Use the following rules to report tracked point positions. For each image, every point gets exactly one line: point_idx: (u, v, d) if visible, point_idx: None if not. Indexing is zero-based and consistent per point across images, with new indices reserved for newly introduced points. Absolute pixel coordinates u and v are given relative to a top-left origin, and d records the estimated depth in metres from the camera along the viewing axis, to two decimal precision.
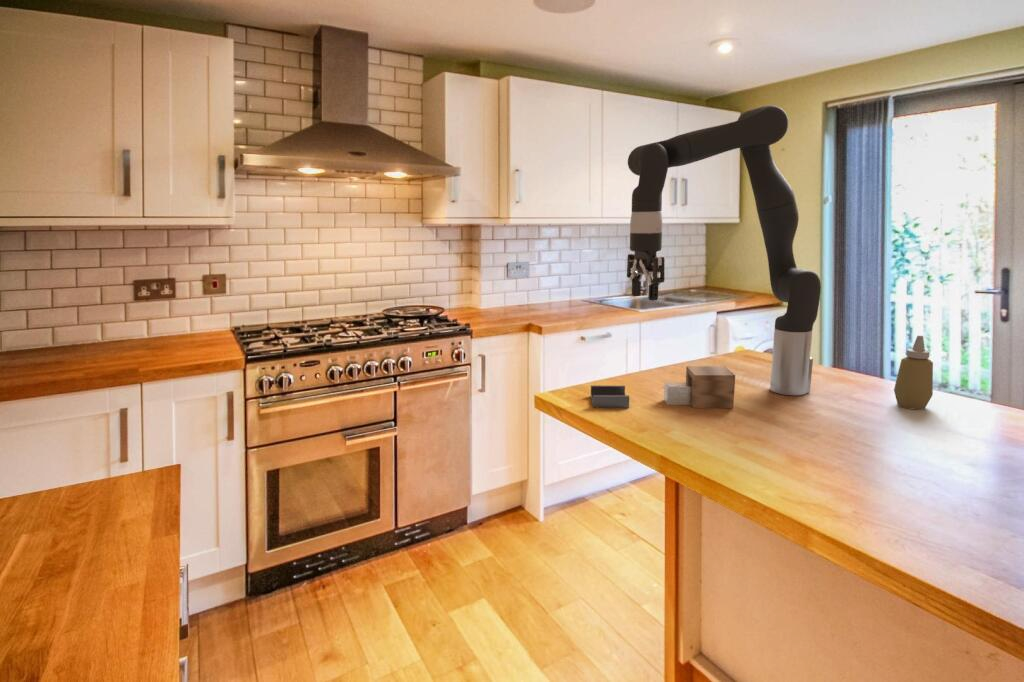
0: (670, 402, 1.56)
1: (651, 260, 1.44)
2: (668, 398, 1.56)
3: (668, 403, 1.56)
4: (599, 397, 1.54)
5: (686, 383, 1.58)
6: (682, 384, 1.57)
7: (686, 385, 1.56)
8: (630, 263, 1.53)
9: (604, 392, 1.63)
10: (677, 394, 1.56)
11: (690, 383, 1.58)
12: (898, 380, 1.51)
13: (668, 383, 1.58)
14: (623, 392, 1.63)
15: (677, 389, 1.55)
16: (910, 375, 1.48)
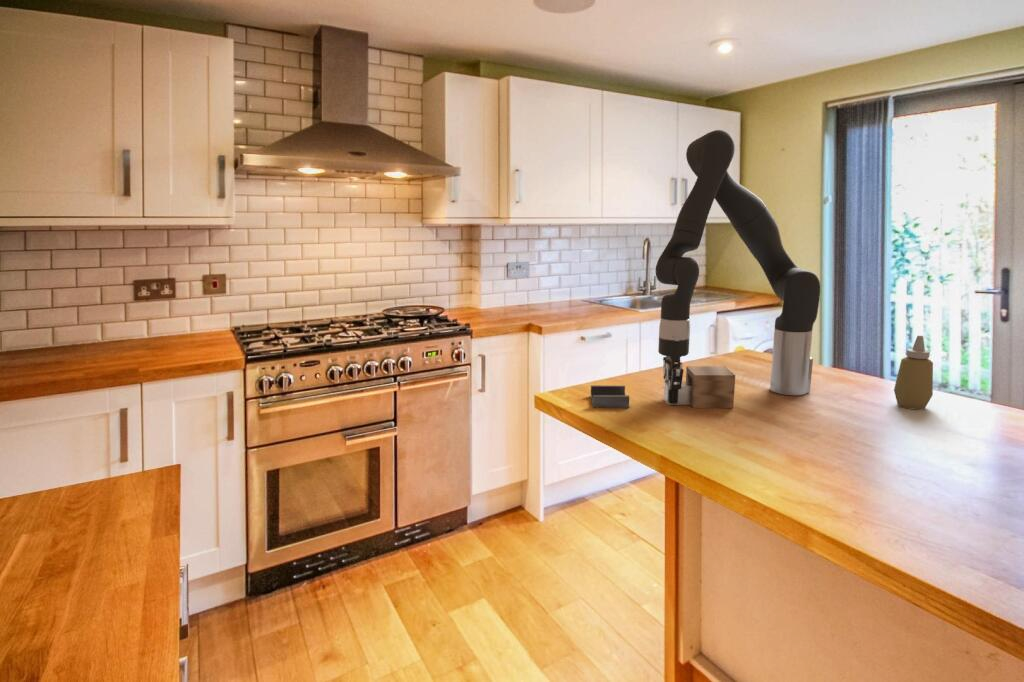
0: None
1: None
2: (668, 397, 1.56)
3: (668, 402, 1.56)
4: (599, 397, 1.54)
5: (686, 382, 1.58)
6: (682, 383, 1.57)
7: (686, 384, 1.56)
8: None
9: (604, 392, 1.63)
10: (678, 394, 1.56)
11: (690, 382, 1.58)
12: (898, 380, 1.51)
13: (668, 383, 1.58)
14: (623, 392, 1.63)
15: None
16: (910, 375, 1.48)
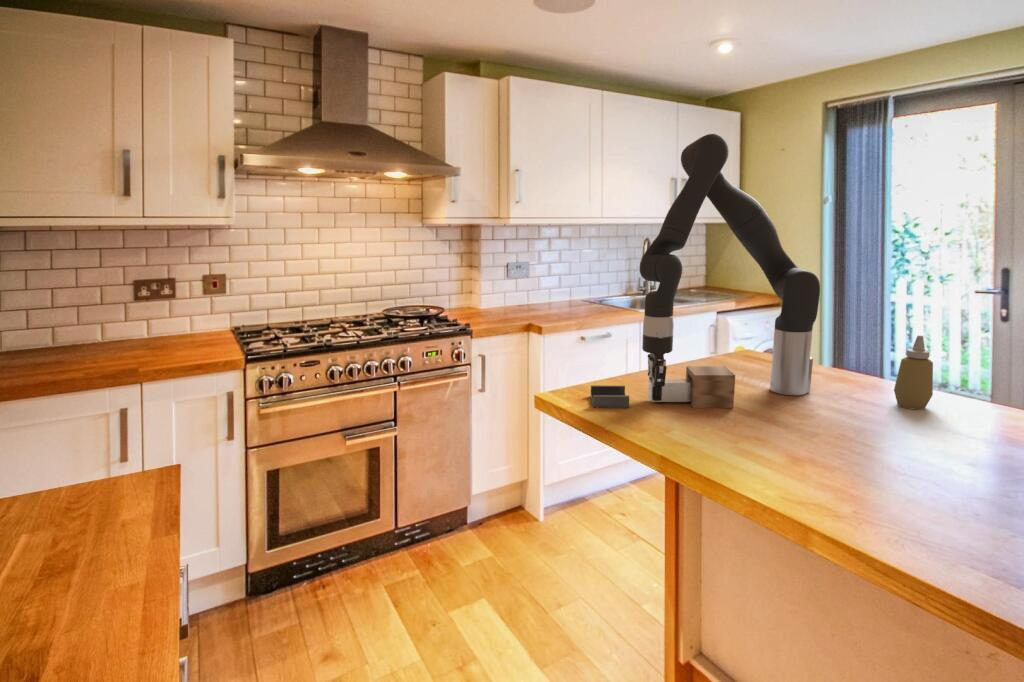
0: None
1: None
2: (652, 394, 1.56)
3: (652, 399, 1.56)
4: (599, 397, 1.54)
5: (670, 379, 1.58)
6: (666, 381, 1.57)
7: (670, 381, 1.56)
8: None
9: (604, 392, 1.63)
10: None
11: (674, 379, 1.58)
12: (898, 380, 1.51)
13: (652, 380, 1.58)
14: (623, 392, 1.63)
15: None
16: (910, 375, 1.48)
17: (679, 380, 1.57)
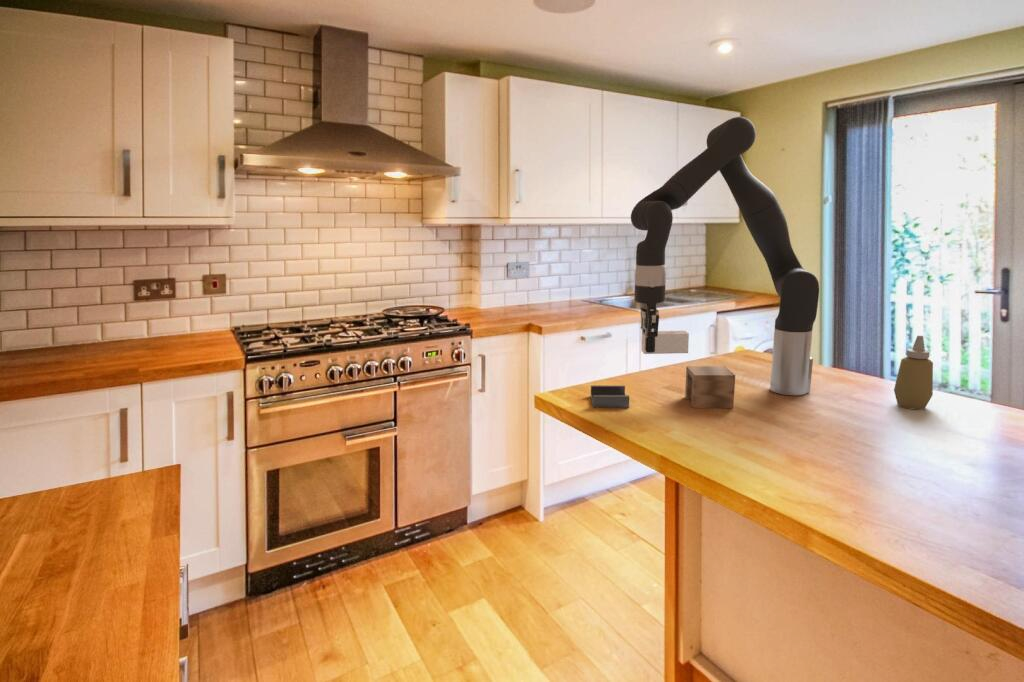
0: None
1: None
2: (645, 346, 1.53)
3: (645, 352, 1.53)
4: (599, 397, 1.54)
5: (663, 331, 1.55)
6: (659, 332, 1.54)
7: (663, 333, 1.53)
8: None
9: (604, 392, 1.63)
10: None
11: (667, 331, 1.55)
12: (898, 380, 1.51)
13: (645, 332, 1.55)
14: (623, 392, 1.63)
15: None
16: (910, 375, 1.48)
17: (672, 332, 1.55)
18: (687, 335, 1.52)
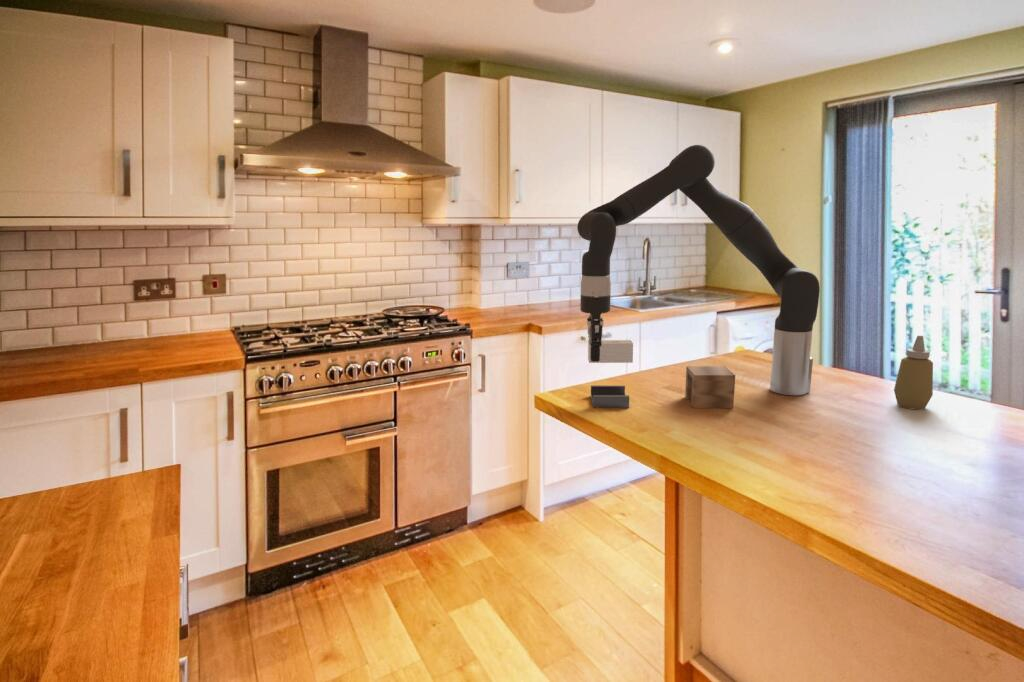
0: None
1: None
2: (590, 355, 1.55)
3: (590, 360, 1.55)
4: (599, 397, 1.54)
5: (609, 340, 1.57)
6: (605, 342, 1.56)
7: (608, 342, 1.55)
8: None
9: (604, 392, 1.63)
10: None
11: (613, 341, 1.57)
12: (898, 380, 1.51)
13: None
14: (623, 392, 1.63)
15: None
16: (910, 375, 1.48)
17: (618, 341, 1.56)
18: (631, 345, 1.54)
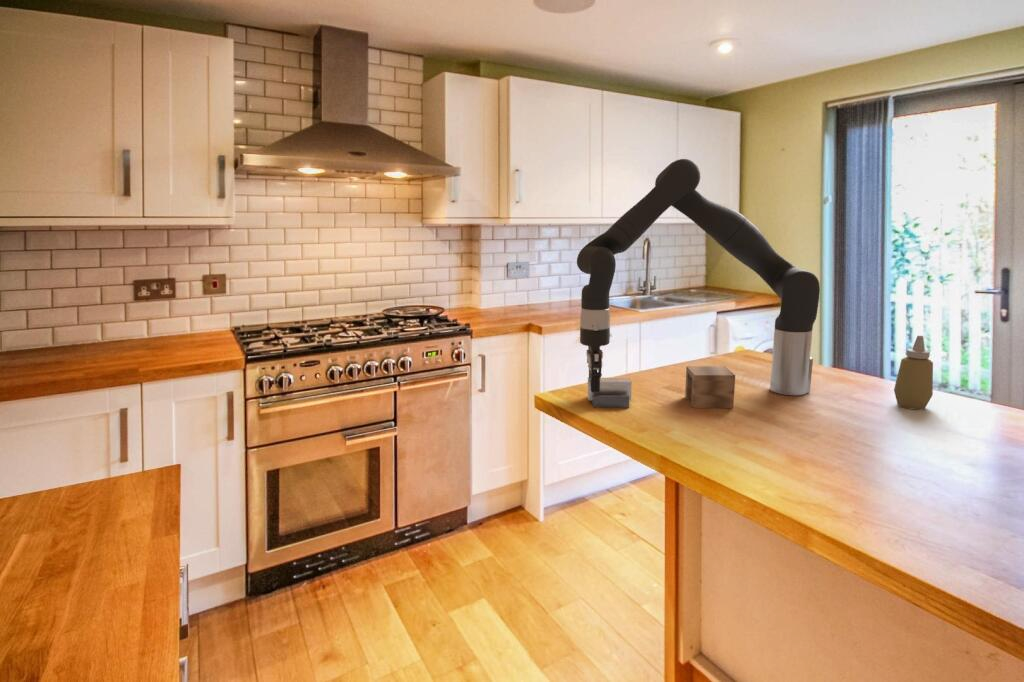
0: (591, 397, 1.57)
1: None
2: (589, 393, 1.57)
3: (589, 398, 1.57)
4: (599, 397, 1.54)
5: (608, 378, 1.59)
6: (604, 379, 1.58)
7: (607, 380, 1.57)
8: None
9: None
10: None
11: (612, 378, 1.59)
12: (898, 380, 1.51)
13: (590, 378, 1.59)
14: None
15: None
16: (910, 375, 1.48)
17: (617, 379, 1.58)
18: (630, 383, 1.56)
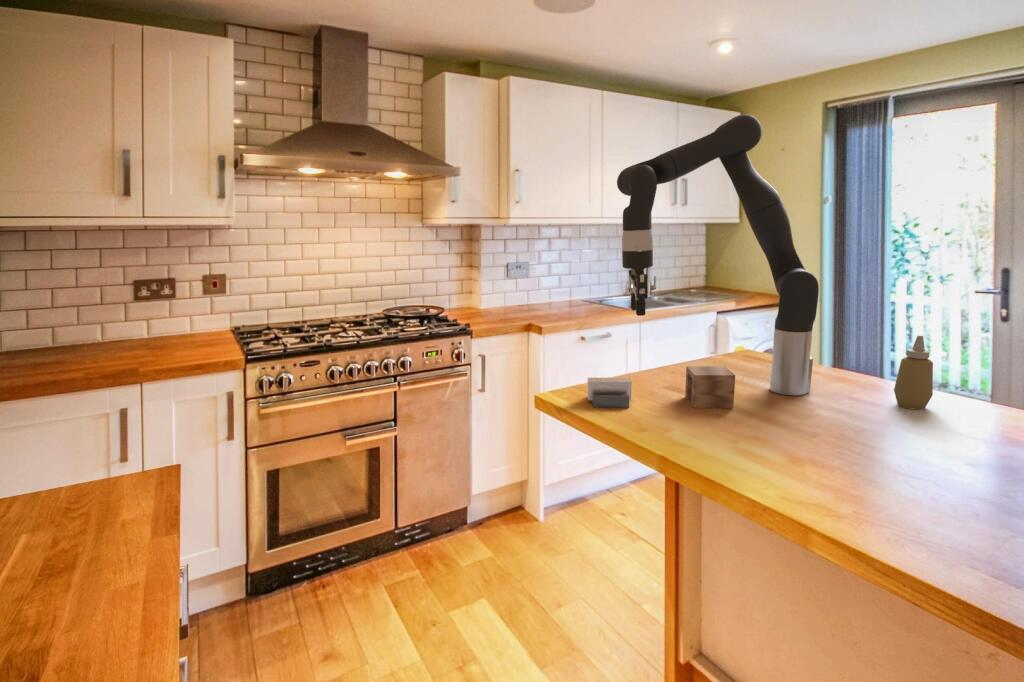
0: (591, 397, 1.57)
1: None
2: (589, 393, 1.57)
3: (589, 398, 1.57)
4: (599, 397, 1.54)
5: (608, 378, 1.59)
6: (604, 379, 1.58)
7: (607, 380, 1.57)
8: None
9: None
10: (598, 389, 1.57)
11: (612, 378, 1.59)
12: (898, 380, 1.51)
13: (590, 378, 1.59)
14: None
15: (597, 384, 1.56)
16: (910, 375, 1.48)
17: (617, 379, 1.58)
18: (630, 383, 1.56)
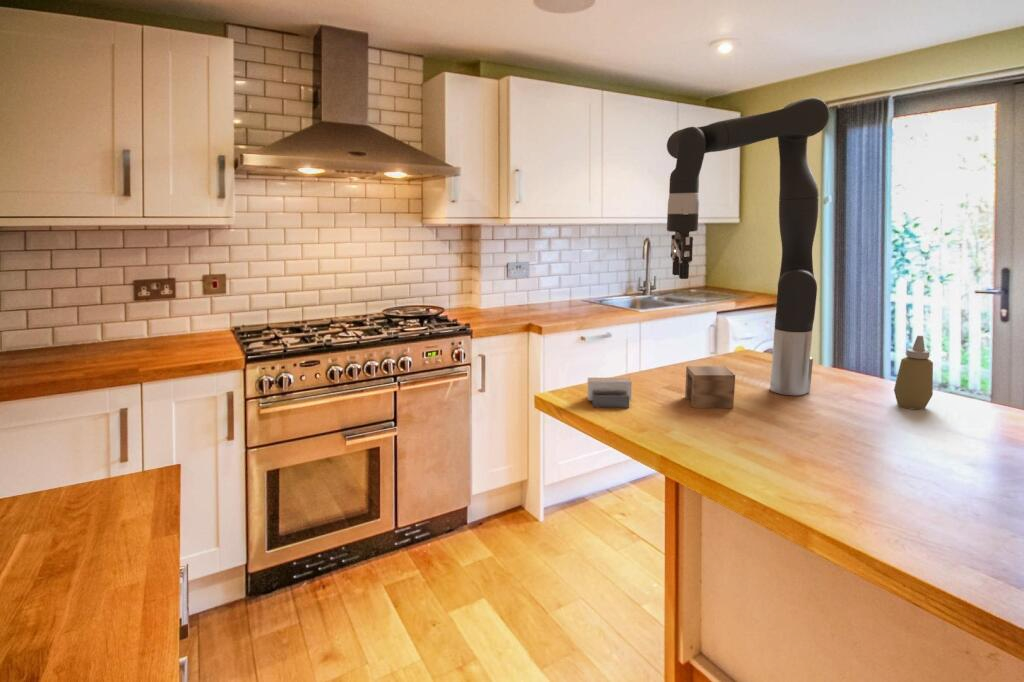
0: (591, 397, 1.57)
1: None
2: (589, 393, 1.57)
3: (589, 398, 1.57)
4: (599, 397, 1.54)
5: (608, 378, 1.59)
6: (604, 379, 1.58)
7: (607, 380, 1.57)
8: None
9: None
10: (598, 389, 1.57)
11: (612, 378, 1.59)
12: (898, 380, 1.51)
13: (590, 378, 1.59)
14: None
15: (597, 384, 1.56)
16: (910, 375, 1.48)
17: (617, 379, 1.58)
18: (630, 383, 1.56)
